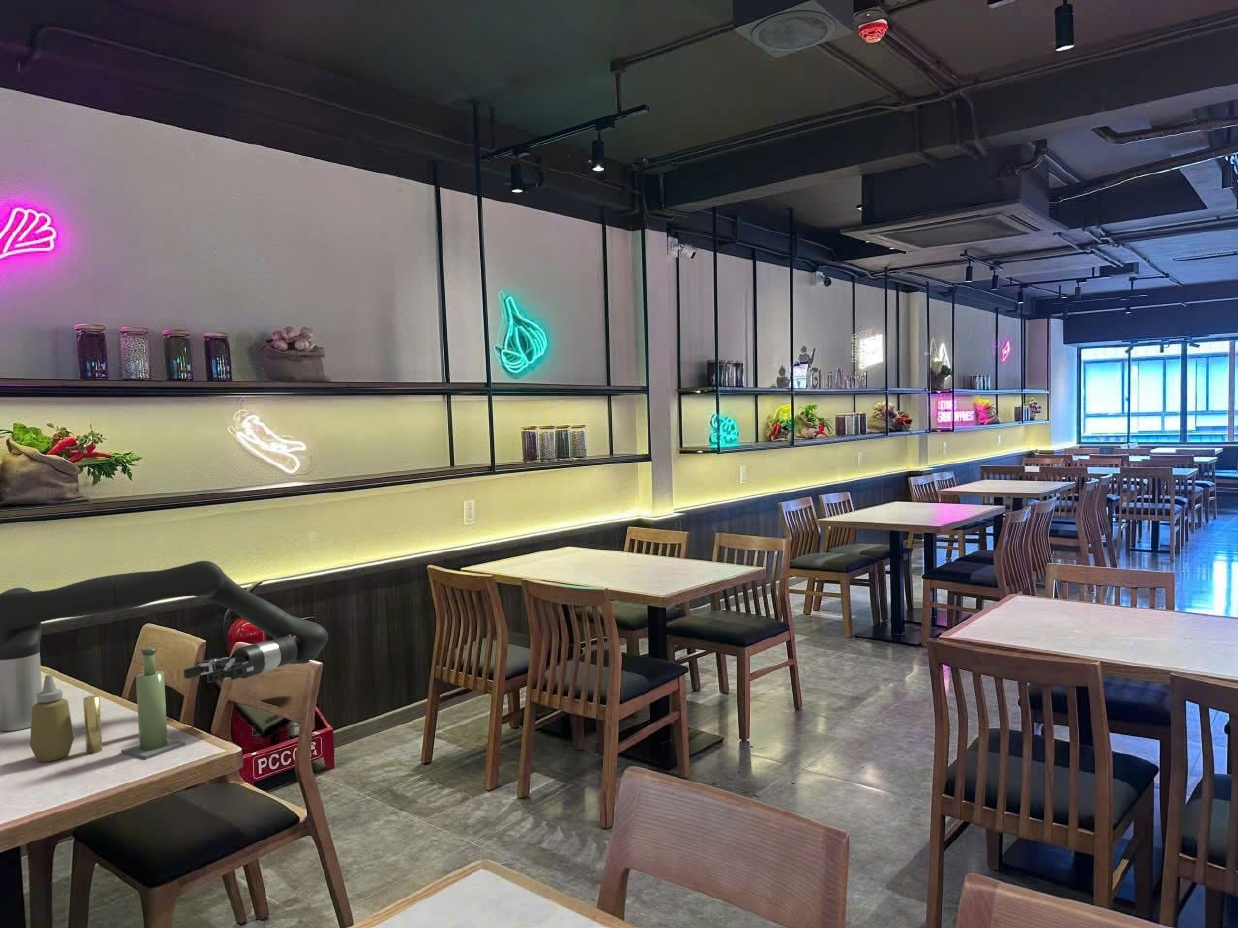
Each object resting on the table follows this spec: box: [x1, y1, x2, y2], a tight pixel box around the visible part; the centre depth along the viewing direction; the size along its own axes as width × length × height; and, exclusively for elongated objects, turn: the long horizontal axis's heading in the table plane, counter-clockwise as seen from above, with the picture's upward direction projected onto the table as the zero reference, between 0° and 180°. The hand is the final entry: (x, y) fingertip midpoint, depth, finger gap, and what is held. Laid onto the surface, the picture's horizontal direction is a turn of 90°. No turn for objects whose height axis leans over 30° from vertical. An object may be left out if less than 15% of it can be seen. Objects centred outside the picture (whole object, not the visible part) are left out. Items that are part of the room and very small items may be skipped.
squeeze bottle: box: [29, 674, 75, 763], centre depth 182 cm, size 8×8×18 cm
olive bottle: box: [135, 647, 168, 750], centre depth 185 cm, size 5×5×22 cm
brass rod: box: [82, 694, 103, 755], centre depth 185 cm, size 3×3×12 cm
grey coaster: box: [120, 737, 186, 760], centre depth 185 cm, size 9×9×1 cm
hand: (196, 676), depth 194 cm, fingers open, 8 cm apart
